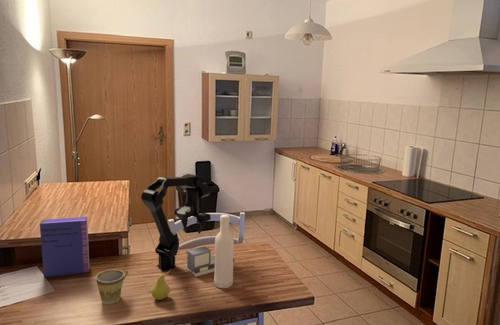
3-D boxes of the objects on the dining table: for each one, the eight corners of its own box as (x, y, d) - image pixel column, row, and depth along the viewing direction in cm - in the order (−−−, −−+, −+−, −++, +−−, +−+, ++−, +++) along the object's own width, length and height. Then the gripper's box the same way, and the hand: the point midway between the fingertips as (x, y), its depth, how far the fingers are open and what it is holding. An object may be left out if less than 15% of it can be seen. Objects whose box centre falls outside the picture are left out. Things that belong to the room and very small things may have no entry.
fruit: (154, 293, 148) (153, 265, 146) (173, 294, 148) (173, 266, 146) (149, 302, 142) (148, 273, 139) (169, 303, 141) (168, 274, 139)
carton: (187, 267, 167) (187, 250, 165) (205, 262, 172) (205, 246, 171) (192, 272, 163) (192, 255, 161) (210, 267, 168) (210, 250, 167)
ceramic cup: (108, 310, 136) (107, 284, 134) (91, 301, 141) (90, 276, 139) (136, 294, 147) (135, 270, 145) (119, 286, 152) (118, 263, 150)
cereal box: (89, 267, 167) (87, 216, 163) (88, 272, 163) (85, 219, 158) (46, 272, 162) (42, 219, 157) (43, 277, 157) (39, 223, 153)
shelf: (195, 276, 162) (195, 269, 161) (185, 267, 170) (185, 260, 169) (234, 265, 174) (234, 258, 173) (222, 257, 182) (222, 250, 181)
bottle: (236, 281, 159) (238, 214, 153) (227, 290, 152) (229, 220, 146) (219, 277, 162) (221, 211, 156) (210, 285, 155) (211, 217, 149)
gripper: (166, 200, 177) (166, 231, 180) (195, 208, 167) (195, 241, 170) (182, 195, 186) (182, 225, 189) (211, 202, 176) (211, 233, 179)
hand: (192, 231), depth 182 cm, fingers open, 9 cm apart
